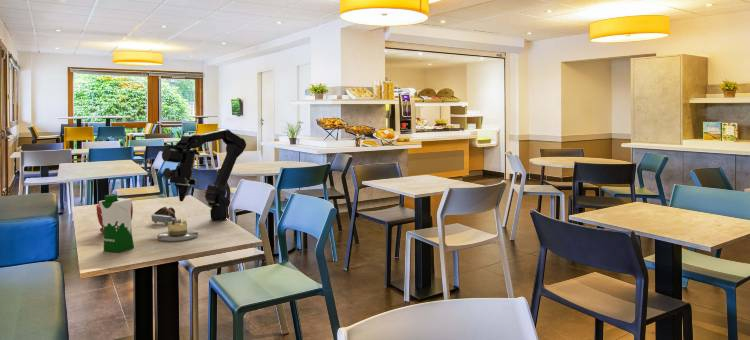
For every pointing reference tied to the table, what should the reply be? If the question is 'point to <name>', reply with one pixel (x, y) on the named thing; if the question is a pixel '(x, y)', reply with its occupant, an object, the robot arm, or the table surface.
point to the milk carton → (116, 223)
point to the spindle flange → (177, 238)
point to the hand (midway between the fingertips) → (181, 201)
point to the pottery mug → (165, 212)
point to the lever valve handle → (171, 224)
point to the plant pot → (101, 216)
